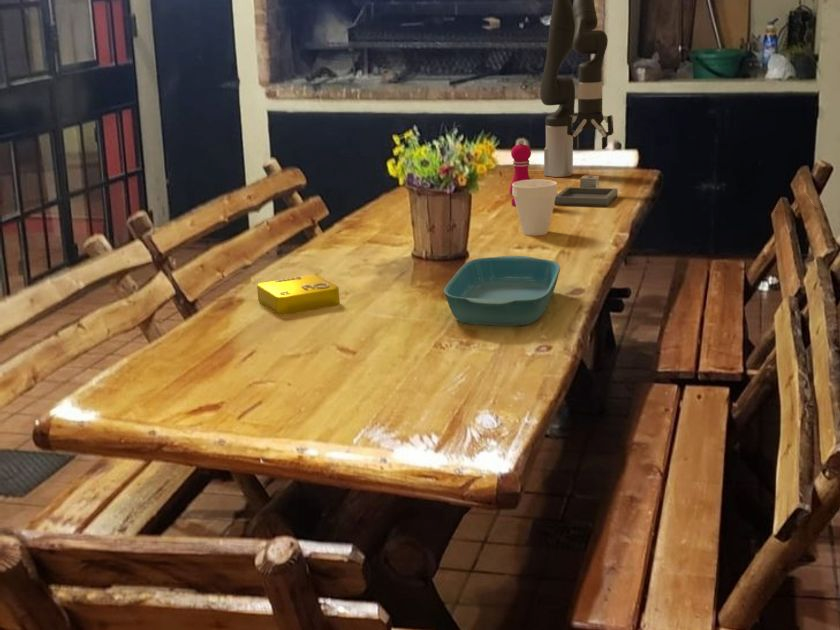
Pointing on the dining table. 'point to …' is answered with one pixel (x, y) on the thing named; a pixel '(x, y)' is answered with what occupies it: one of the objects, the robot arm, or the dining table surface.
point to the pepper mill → (520, 164)
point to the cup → (534, 204)
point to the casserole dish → (502, 290)
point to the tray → (586, 196)
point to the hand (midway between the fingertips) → (590, 148)
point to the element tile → (298, 294)
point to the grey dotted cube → (589, 182)
